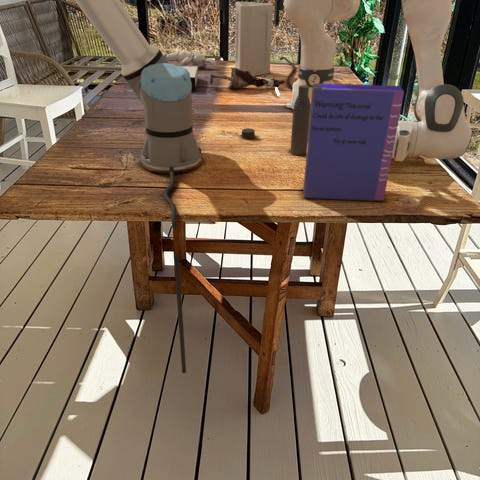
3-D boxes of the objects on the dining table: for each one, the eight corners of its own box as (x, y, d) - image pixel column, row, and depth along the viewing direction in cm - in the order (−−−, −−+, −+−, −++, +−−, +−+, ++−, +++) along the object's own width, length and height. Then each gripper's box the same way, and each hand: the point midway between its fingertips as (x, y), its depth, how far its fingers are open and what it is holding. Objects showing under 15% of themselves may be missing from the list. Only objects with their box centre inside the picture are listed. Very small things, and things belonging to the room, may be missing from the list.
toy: (171, 74, 211) (170, 58, 208) (148, 64, 229) (146, 49, 225) (218, 68, 223) (218, 53, 219) (192, 59, 240) (192, 44, 237)
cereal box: (379, 191, 109) (398, 84, 97) (383, 201, 105) (404, 90, 93) (303, 188, 110) (312, 82, 98) (304, 197, 106) (314, 88, 94)
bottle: (309, 150, 132) (315, 85, 123) (304, 156, 129) (309, 89, 119) (293, 148, 134) (298, 83, 125) (287, 153, 130) (292, 87, 121)
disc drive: (150, 90, 186) (149, 77, 184) (157, 77, 206) (156, 65, 203) (195, 90, 187) (195, 77, 184) (198, 77, 206) (198, 65, 203)
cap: (247, 134, 144) (247, 127, 143) (257, 137, 142) (257, 130, 140) (239, 137, 141) (239, 130, 140) (248, 140, 139) (248, 133, 138)
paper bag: (273, 76, 210) (276, 6, 196) (239, 77, 209) (240, 6, 194) (266, 67, 226) (268, 2, 212) (235, 67, 225) (235, 1, 210)
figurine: (210, 87, 179) (288, 95, 182) (212, 65, 176) (291, 73, 180) (208, 84, 201) (278, 91, 205) (210, 64, 198) (280, 71, 202)
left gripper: (202, -74, 110) (204, 26, 121) (307, -72, 113) (300, 26, 124) (200, -73, 116) (202, 22, 127) (300, -71, 119) (294, 22, 130)
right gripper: (401, 115, 130) (350, 111, 133) (407, 139, 113) (348, 134, 116) (397, 137, 133) (347, 133, 136) (402, 164, 116) (344, 158, 119)
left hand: (250, 24), depth 125 cm, fingers open, 13 cm apart
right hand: (347, 134), depth 126 cm, fingers open, 8 cm apart
